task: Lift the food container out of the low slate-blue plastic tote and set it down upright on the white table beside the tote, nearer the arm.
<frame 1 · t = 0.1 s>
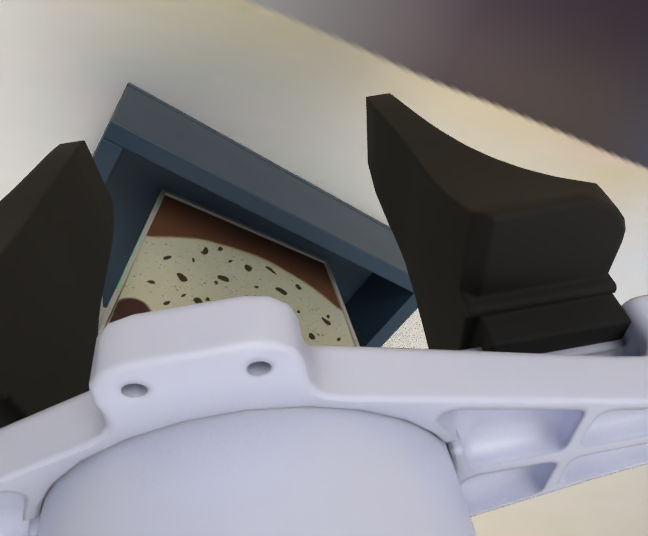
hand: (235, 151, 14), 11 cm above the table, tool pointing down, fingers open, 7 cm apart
tote: (223, 267, 29), on the table
food container: (223, 268, 29), resting on tote
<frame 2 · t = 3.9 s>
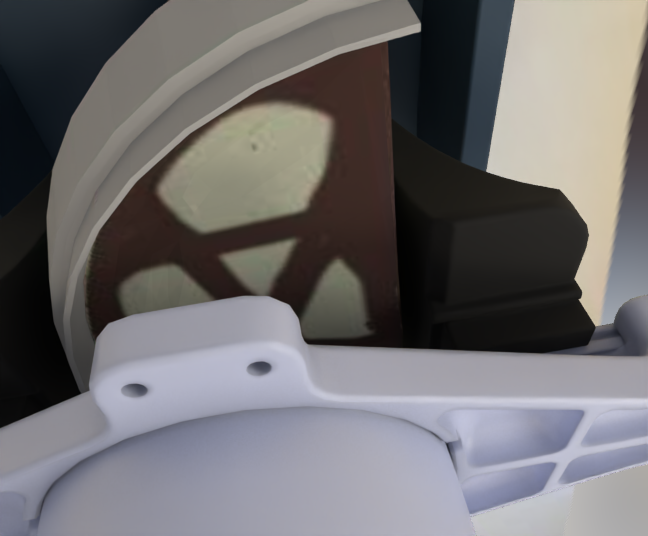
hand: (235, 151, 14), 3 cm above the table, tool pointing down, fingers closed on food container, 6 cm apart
tote: (230, 91, 16), on the table
food container: (227, 94, 16), resting on tote, touching gripper
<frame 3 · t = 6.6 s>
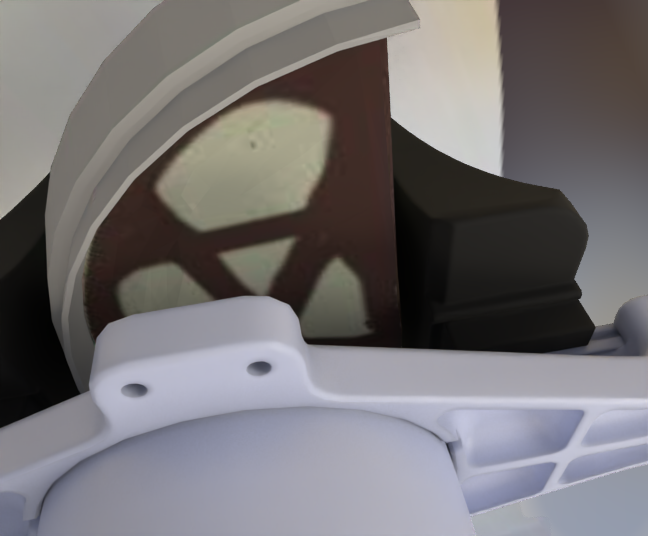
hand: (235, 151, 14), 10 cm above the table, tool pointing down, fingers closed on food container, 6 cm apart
food container: (226, 93, 16), point 7 cm above the table, touching gripper
when the fingers open (3 cm above the table, at t = 9.3 s): food container stays where it is, on the table.
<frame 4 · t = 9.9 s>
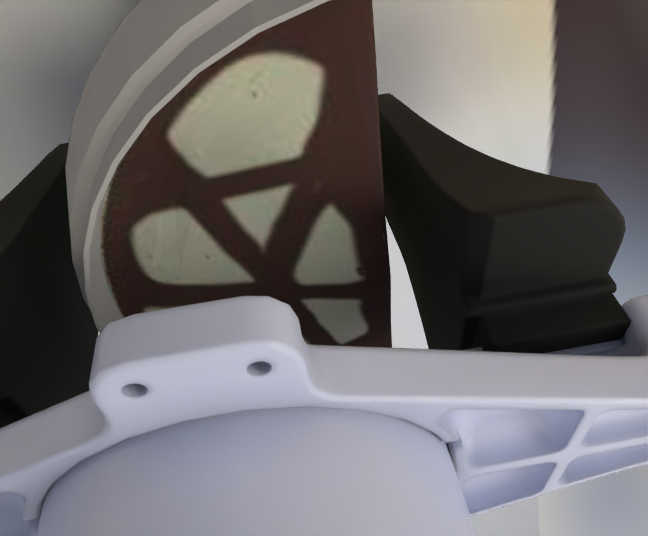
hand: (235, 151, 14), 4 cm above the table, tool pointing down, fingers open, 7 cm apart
food container: (228, 73, 17), on the table
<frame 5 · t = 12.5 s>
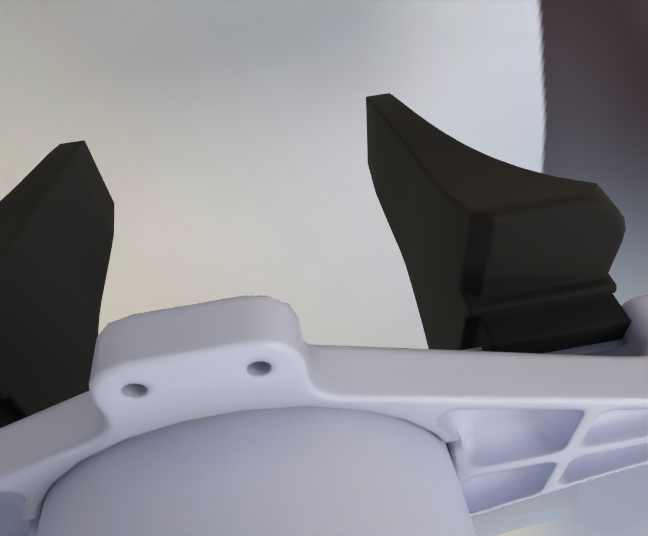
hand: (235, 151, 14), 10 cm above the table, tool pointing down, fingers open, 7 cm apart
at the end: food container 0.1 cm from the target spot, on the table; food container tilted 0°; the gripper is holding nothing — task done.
